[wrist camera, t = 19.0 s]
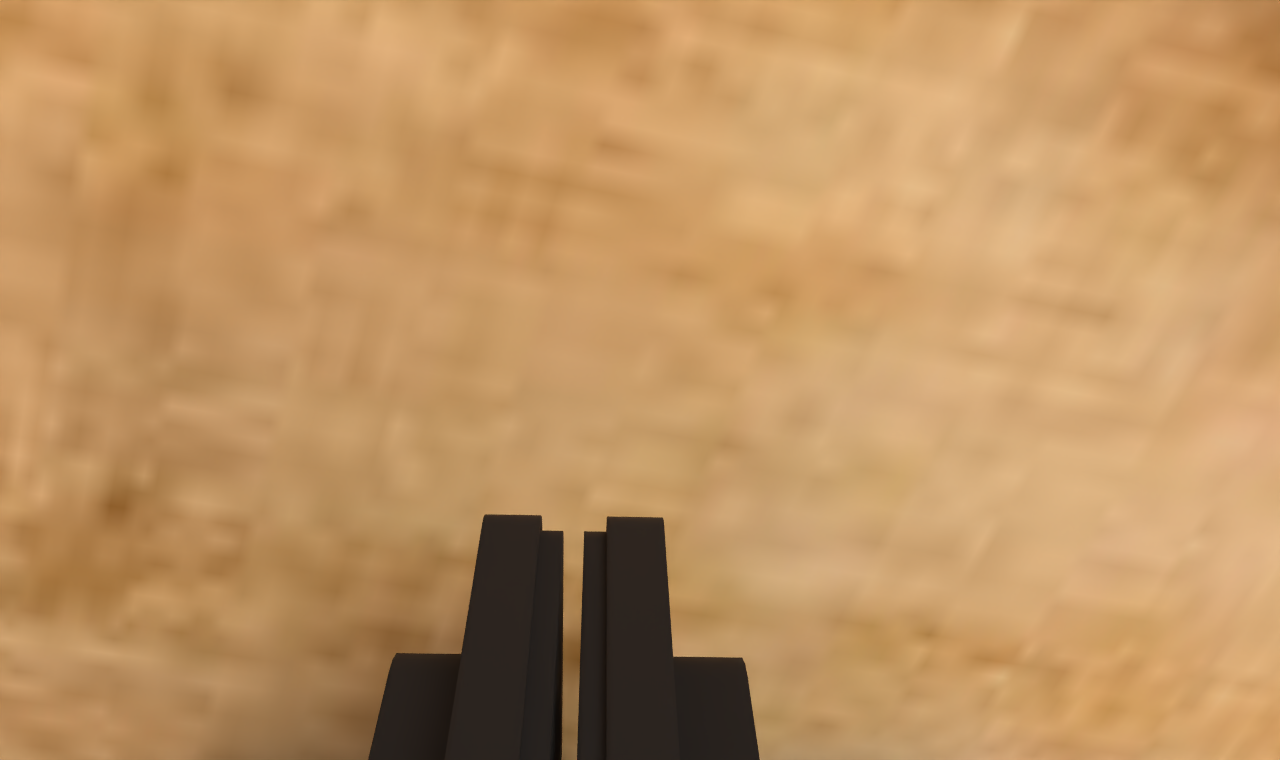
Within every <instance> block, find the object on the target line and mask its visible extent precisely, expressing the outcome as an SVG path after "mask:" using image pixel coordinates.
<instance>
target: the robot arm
mask: <svg viewBox="0 0 1280 760" xmlns="http://www.w3.org/2000/svg"><path fill="white" fill-rule="evenodd" d="M562 682H563V531H542V517H541V515H485V516H484V518H483V523H482V529H481V535H480V541H479V547H478V554H477V560H476V566H475V572H474V579H473V585H472V591H471V597H470V604H469V610H468V616H467V622H466V628H465V635H464V641H463V647H462V653H461V654H413V653H396V655H395V657H394V658H393V660H392V663H391V667H390V670H389V674H388V678H387V682H386V686H385V691H384V695H383V699H382V703H381V708H380V712H379V716H378V721H377V725H376V729H375V733H374V738H373V742H372V746H371V750H370V755H369V759H368V760H561V757H562ZM577 760H760V759H759V752H758V745H757V739H756V732H755V725H754V718H753V711H752V704H751V697H750V690H749V684H748V677H747V672H746V667H745V663H744V661H743V658H723V657H673V649H672V634H671V620H670V605H669V590H668V576H667V561H666V547H665V532H664V520H663V518H653V517H607V526H606V532H586V531H584V558H583V590H582V622H581V653H580V685H579V716H578V748H577Z"/></svg>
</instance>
